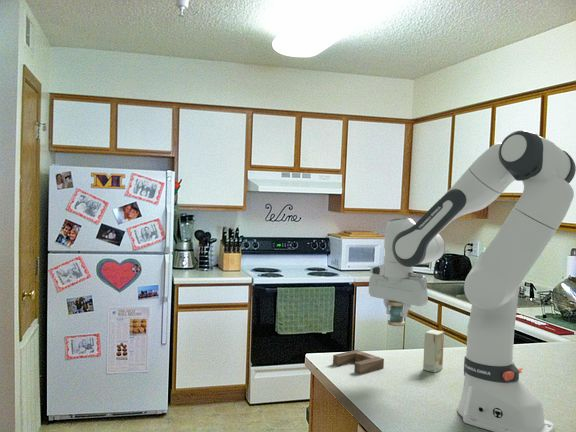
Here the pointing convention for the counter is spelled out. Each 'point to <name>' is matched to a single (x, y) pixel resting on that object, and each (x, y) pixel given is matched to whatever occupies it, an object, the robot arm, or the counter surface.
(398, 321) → the thread spool
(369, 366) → the notched board
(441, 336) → the skincare box
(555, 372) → the counter surface
